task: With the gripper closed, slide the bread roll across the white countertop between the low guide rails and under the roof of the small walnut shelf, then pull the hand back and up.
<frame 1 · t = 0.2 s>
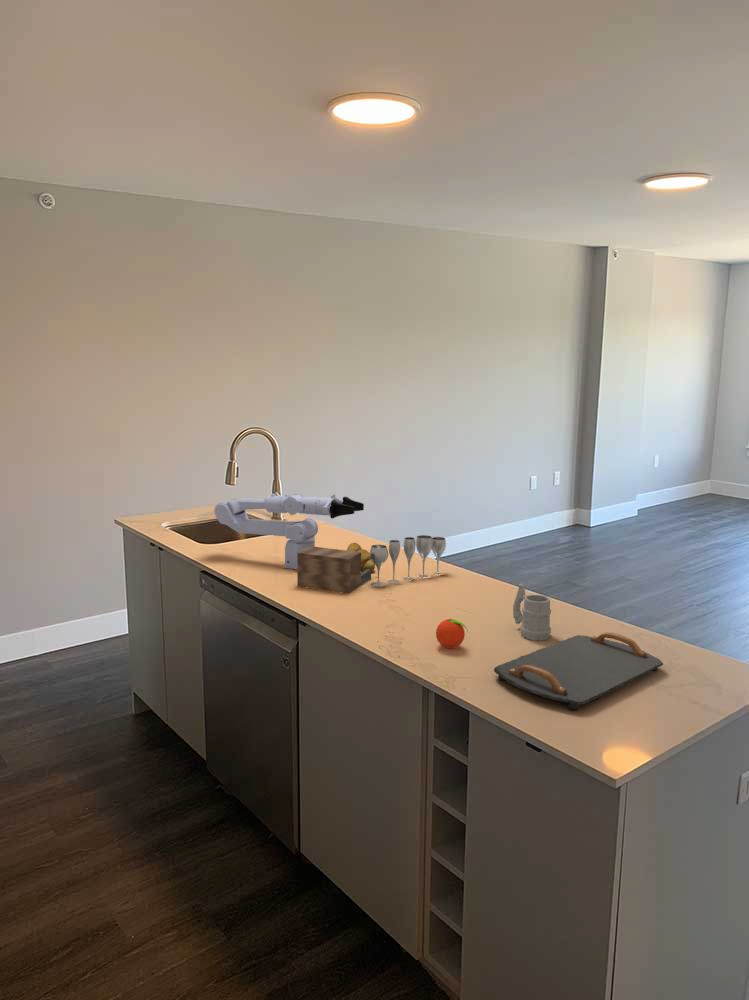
hand: (358, 508, 243), 21 cm above the worktop, tool horizontal, fingers open, 7 cm apart
bread roll: (357, 570, 252), on the worktop
goblet set: (407, 580, 242), on the worktop
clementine: (451, 648, 185), on the worktop
walnut shelf: (335, 582, 237), on the worktop
mug: (529, 633, 196), on the worktop
serving board: (578, 677, 170), on the worktop
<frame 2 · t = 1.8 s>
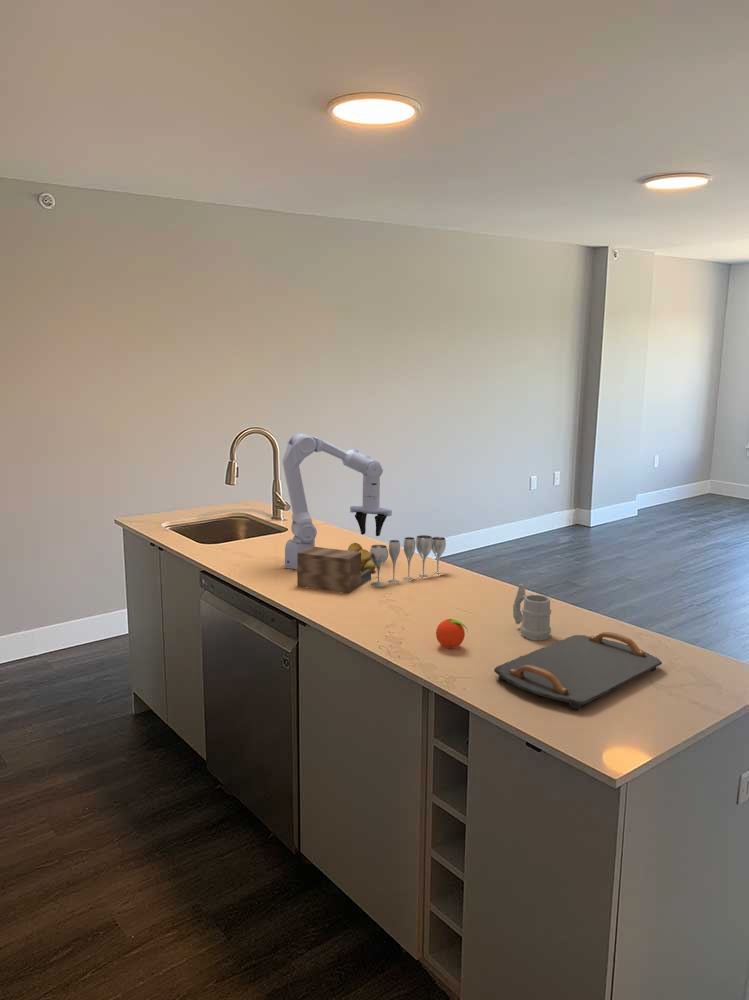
hand: (370, 534, 260), 9 cm above the worktop, tool pointing down, fingers open, 5 cm apart
nothing on the worktop moved.
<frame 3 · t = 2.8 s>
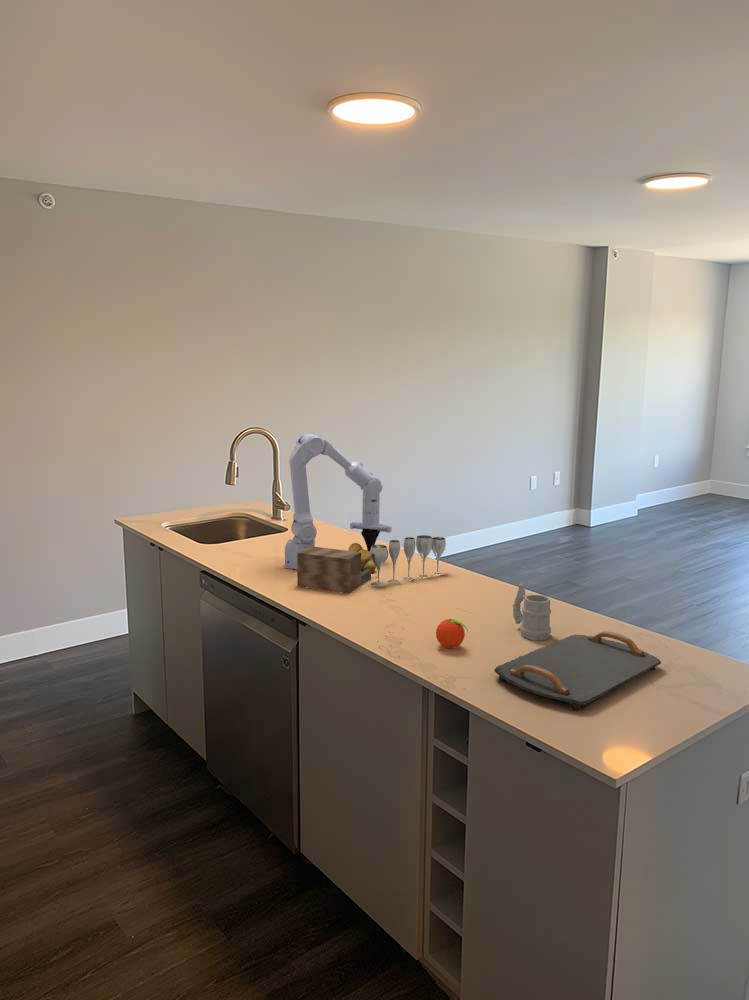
hand: (370, 551, 261), 4 cm above the worktop, tool pointing down, fingers closed
nothing on the worktop moved.
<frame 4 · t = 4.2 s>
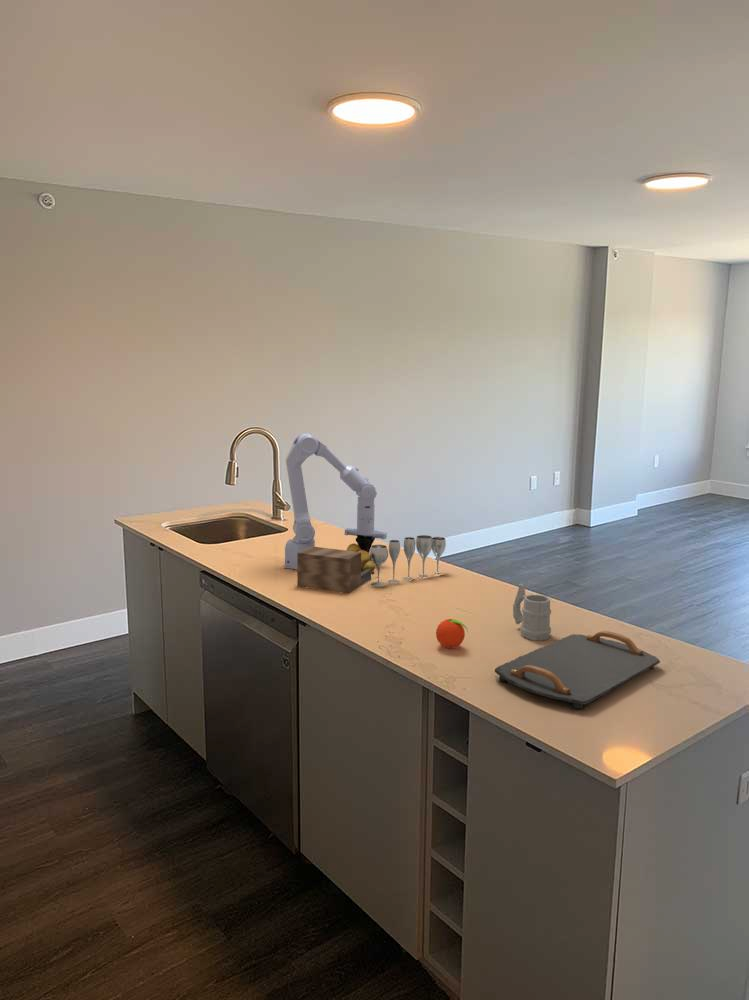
hand: (365, 557, 258), 2 cm above the worktop, tool pointing down, fingers closed
bread roll: (356, 571, 250), on the worktop, touching gripper
everything else where it was.
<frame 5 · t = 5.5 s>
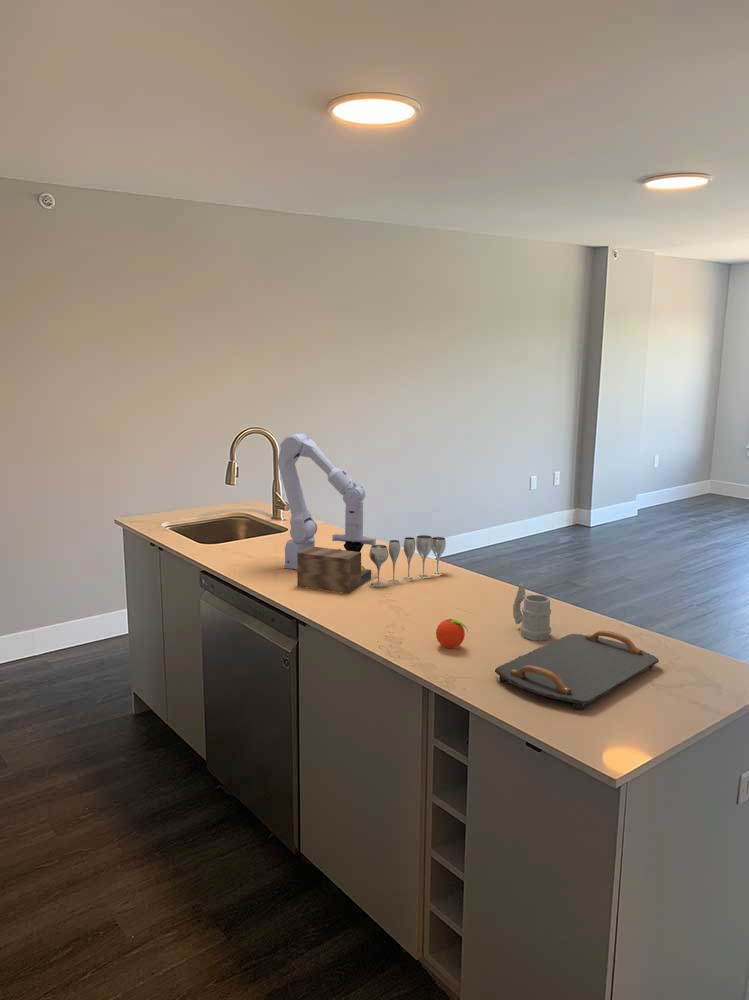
hand: (353, 564, 249), 2 cm above the worktop, tool pointing down, fingers closed
bread roll: (345, 577, 243), on the worktop, touching gripper
everything else where it was.
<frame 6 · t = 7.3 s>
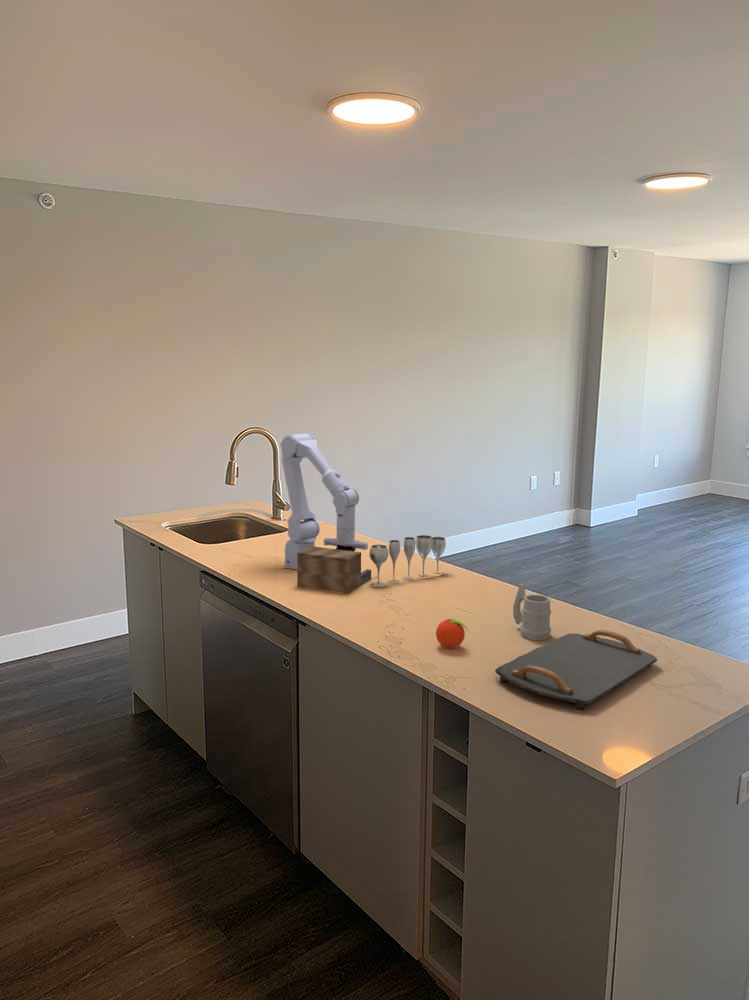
hand: (345, 569, 243), 2 cm above the worktop, tool pointing down, fingers closed
bread roll: (338, 582, 238), on the worktop, touching gripper
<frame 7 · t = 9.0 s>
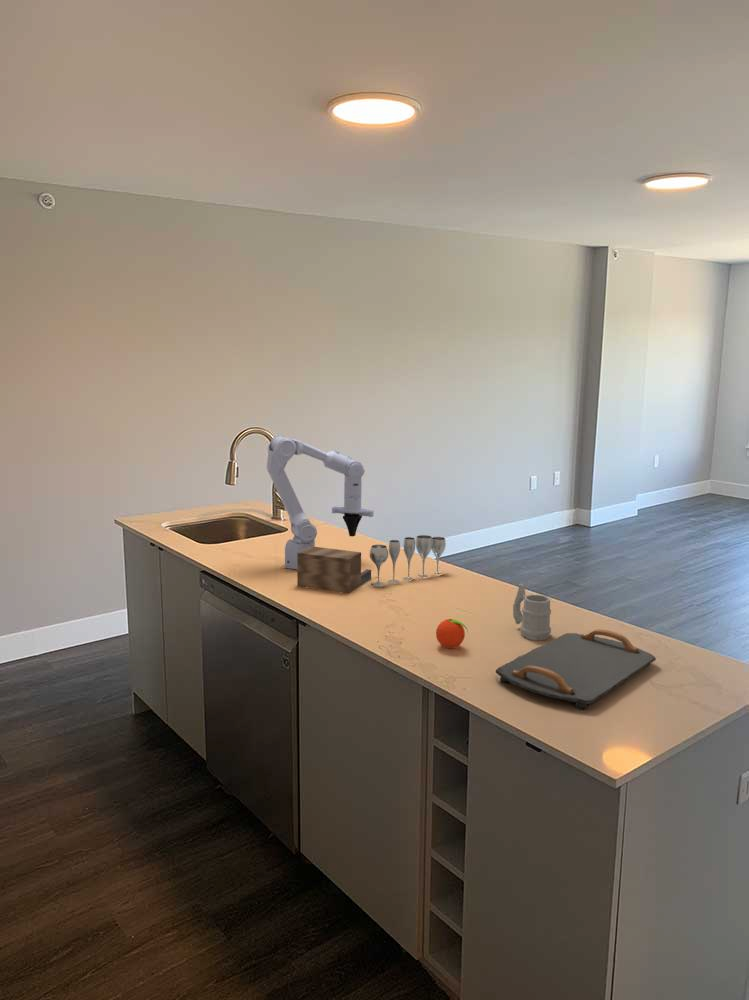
hand: (352, 535, 258), 9 cm above the worktop, tool pointing down, fingers closed
bread roll: (338, 582, 238), on the worktop
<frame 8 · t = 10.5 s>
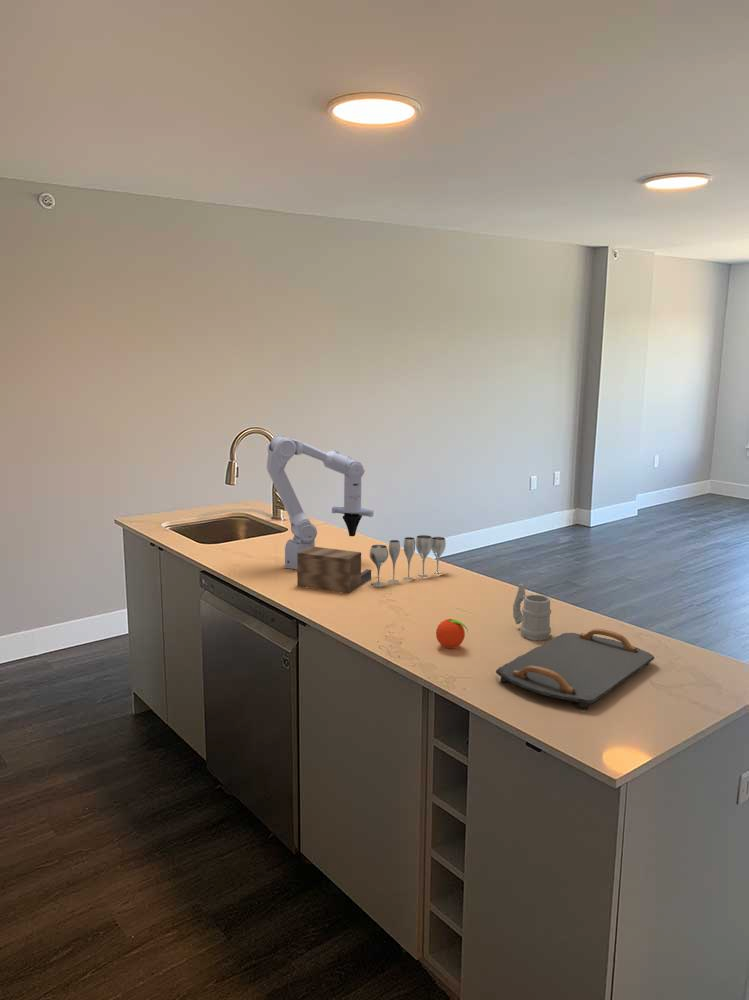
hand: (352, 535, 258), 9 cm above the worktop, tool pointing down, fingers closed
at the end: bread roll inside the target area on the walnut shelf (3.4 cm from its centre), point 0.0 cm above the walnut shelf's base; bread roll moved 15.3 cm from its start; the gripper is holding nothing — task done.
